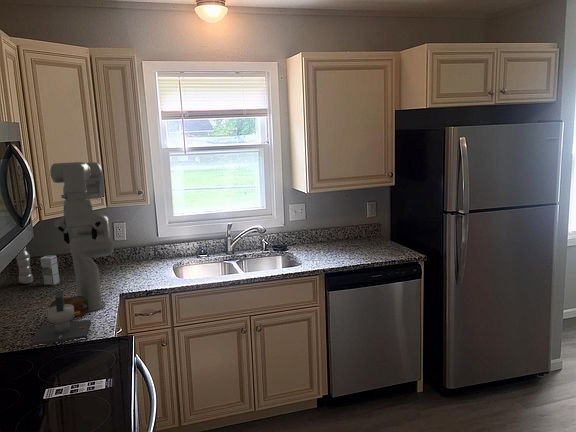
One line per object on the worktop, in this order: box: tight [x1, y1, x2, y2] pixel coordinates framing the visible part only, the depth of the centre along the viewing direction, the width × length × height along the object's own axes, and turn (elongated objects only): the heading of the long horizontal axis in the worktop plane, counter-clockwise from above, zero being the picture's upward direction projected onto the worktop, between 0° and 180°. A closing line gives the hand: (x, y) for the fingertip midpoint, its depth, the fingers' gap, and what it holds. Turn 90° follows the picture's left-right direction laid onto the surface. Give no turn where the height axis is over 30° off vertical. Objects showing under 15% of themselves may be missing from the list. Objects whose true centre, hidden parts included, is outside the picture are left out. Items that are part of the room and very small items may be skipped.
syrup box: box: [40, 255, 60, 286], centre depth 253 cm, size 6×6×14 cm
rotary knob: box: [46, 290, 80, 324], centre depth 185 cm, size 11×9×10 cm
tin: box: [48, 295, 89, 318], centre depth 204 cm, size 15×3×8 cm, turn 106°
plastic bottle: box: [15, 246, 34, 285], centre depth 255 cm, size 6×7×20 cm
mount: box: [32, 319, 92, 346], centre depth 186 cm, size 17×18×6 cm
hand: (81, 241), depth 188 cm, fingers open, 9 cm apart
